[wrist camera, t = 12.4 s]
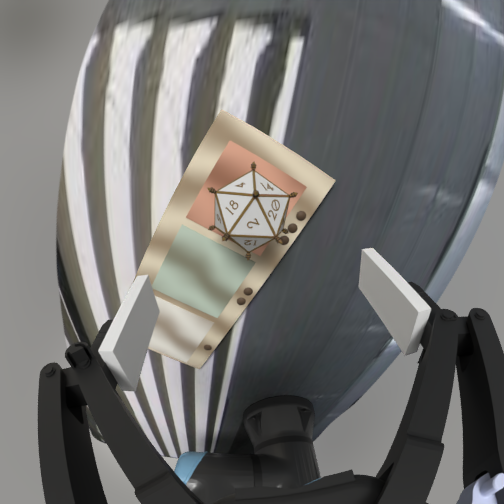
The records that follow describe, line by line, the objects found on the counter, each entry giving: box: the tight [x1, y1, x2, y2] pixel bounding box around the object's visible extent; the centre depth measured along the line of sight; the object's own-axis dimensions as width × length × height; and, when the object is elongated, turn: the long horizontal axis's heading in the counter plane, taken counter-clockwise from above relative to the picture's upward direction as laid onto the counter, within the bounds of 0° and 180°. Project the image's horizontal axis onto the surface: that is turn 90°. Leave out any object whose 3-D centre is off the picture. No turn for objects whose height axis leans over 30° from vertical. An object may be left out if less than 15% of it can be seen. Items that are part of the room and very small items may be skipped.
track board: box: [133, 110, 335, 369], centre depth 35 cm, size 35×15×1 cm, turn 149°
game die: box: [208, 162, 298, 260], centre depth 27 cm, size 9×8×10 cm
